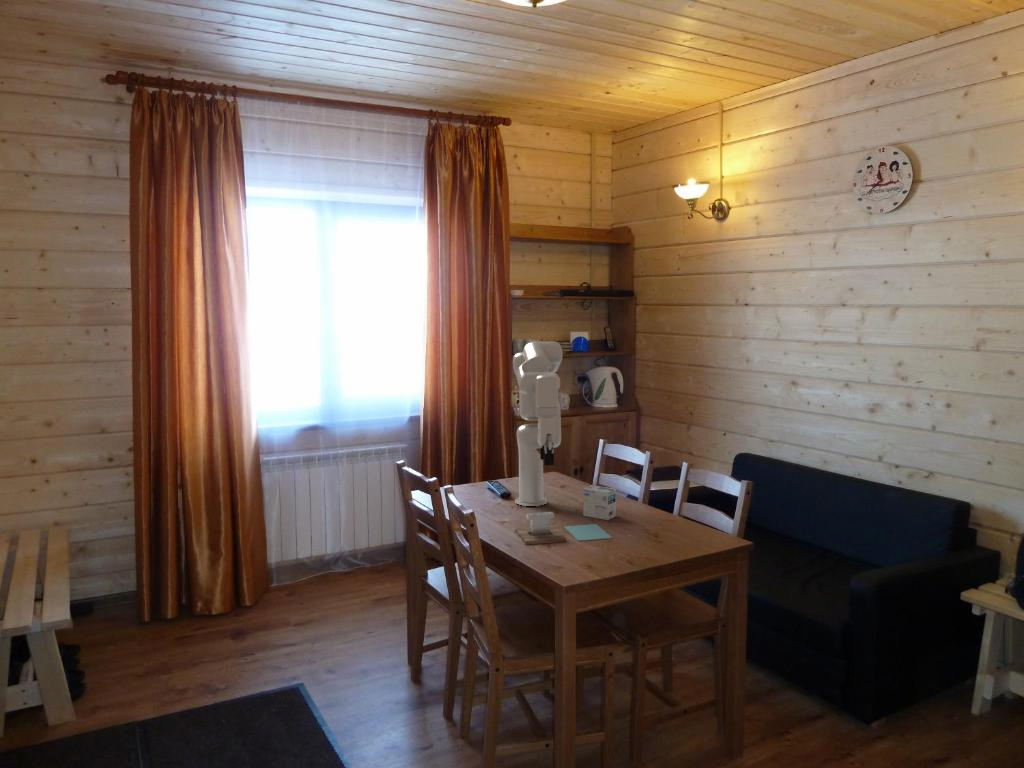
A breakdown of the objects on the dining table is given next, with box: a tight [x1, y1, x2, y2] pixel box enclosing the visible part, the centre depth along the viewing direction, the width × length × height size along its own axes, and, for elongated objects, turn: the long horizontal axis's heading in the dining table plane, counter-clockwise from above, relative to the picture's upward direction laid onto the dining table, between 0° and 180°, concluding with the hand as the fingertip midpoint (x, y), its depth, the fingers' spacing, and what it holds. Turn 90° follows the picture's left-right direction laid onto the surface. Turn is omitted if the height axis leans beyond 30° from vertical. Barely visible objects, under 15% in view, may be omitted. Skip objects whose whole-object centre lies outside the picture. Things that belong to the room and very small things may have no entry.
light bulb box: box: [582, 484, 617, 521], centre depth 283 cm, size 11×7×11 cm, turn 56°
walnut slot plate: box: [514, 525, 567, 545], centre depth 260 cm, size 14×14×1 cm
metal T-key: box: [525, 511, 555, 536], centre depth 259 cm, size 3×9×8 cm, turn 103°
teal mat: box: [563, 523, 613, 542], centre depth 264 cm, size 16×12×1 cm
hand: (547, 462), depth 256 cm, fingers open, 9 cm apart
